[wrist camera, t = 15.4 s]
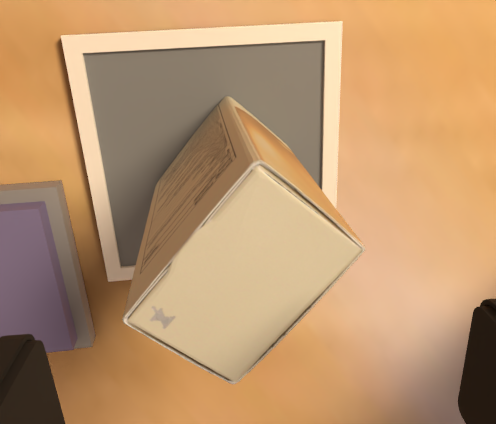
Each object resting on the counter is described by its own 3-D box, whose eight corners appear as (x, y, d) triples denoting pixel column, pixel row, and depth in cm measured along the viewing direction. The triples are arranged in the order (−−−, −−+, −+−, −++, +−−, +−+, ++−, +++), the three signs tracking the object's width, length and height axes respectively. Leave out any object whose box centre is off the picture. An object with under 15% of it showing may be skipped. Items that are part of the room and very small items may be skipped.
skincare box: (217, 229, 26) (230, 397, 14) (152, 184, 24) (110, 330, 13) (294, 141, 24) (376, 252, 13) (229, 87, 23) (257, 158, 11)
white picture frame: (339, 21, 22) (342, 21, 22) (332, 257, 27) (334, 262, 27) (63, 35, 21) (60, 35, 21) (109, 277, 26) (108, 281, 26)
